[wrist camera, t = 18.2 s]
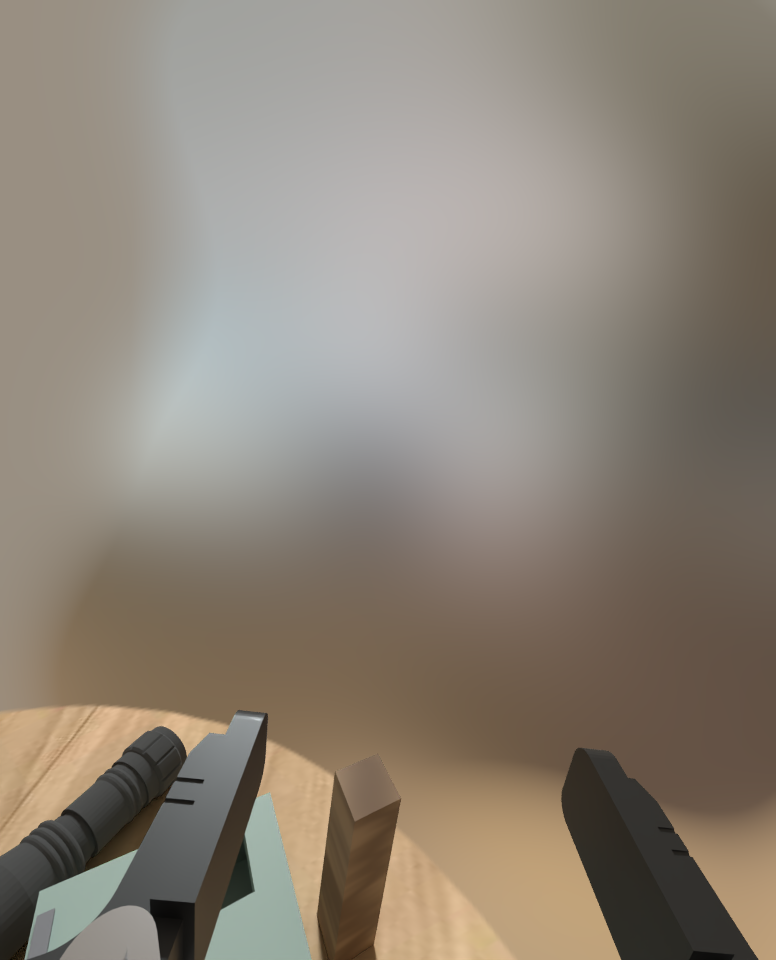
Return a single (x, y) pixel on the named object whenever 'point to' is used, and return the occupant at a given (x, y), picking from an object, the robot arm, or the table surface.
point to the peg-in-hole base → (243, 916)
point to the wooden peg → (356, 857)
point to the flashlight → (83, 830)
